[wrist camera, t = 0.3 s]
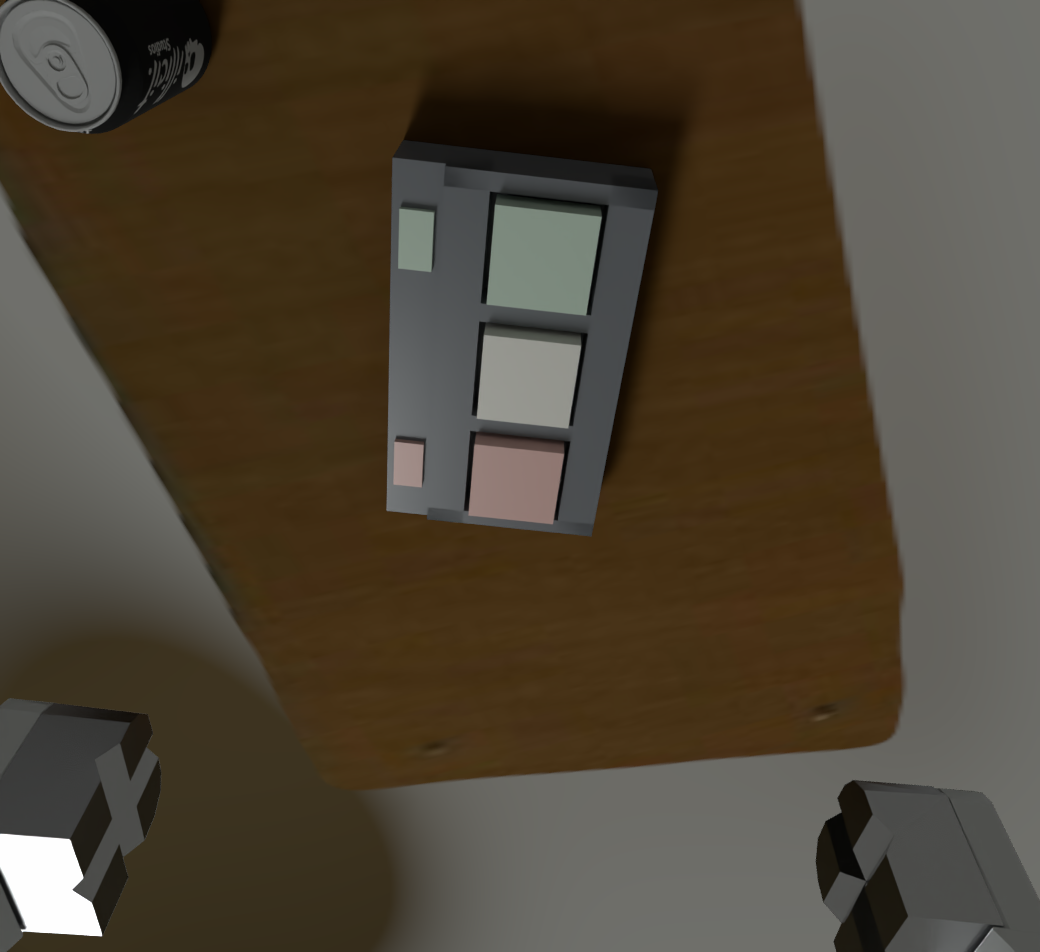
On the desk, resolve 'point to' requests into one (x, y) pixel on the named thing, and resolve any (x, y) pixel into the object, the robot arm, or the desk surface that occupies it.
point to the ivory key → (528, 375)
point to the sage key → (543, 254)
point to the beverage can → (100, 58)
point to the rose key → (515, 477)
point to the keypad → (498, 321)
